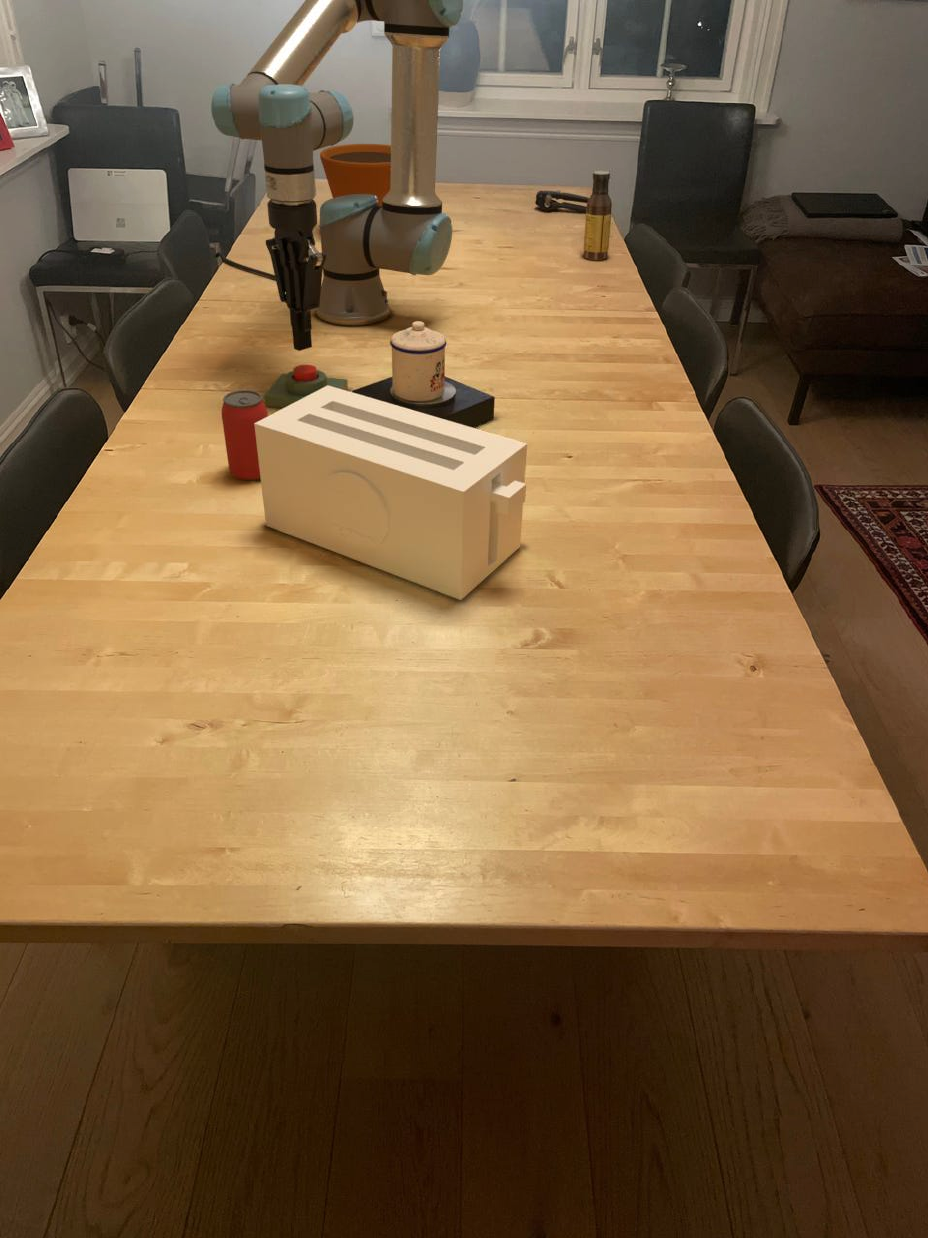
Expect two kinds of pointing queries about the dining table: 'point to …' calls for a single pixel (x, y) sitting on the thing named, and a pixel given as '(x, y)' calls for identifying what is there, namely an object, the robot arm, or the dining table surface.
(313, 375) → the button
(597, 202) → the sauce bottle
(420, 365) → the teacup with lid
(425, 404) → the cup warmer
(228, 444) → the beer can
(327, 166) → the flower pot
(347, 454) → the toaster
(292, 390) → the box
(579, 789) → the dining table surface
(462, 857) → the dining table surface
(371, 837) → the dining table surface
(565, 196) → the can opener
